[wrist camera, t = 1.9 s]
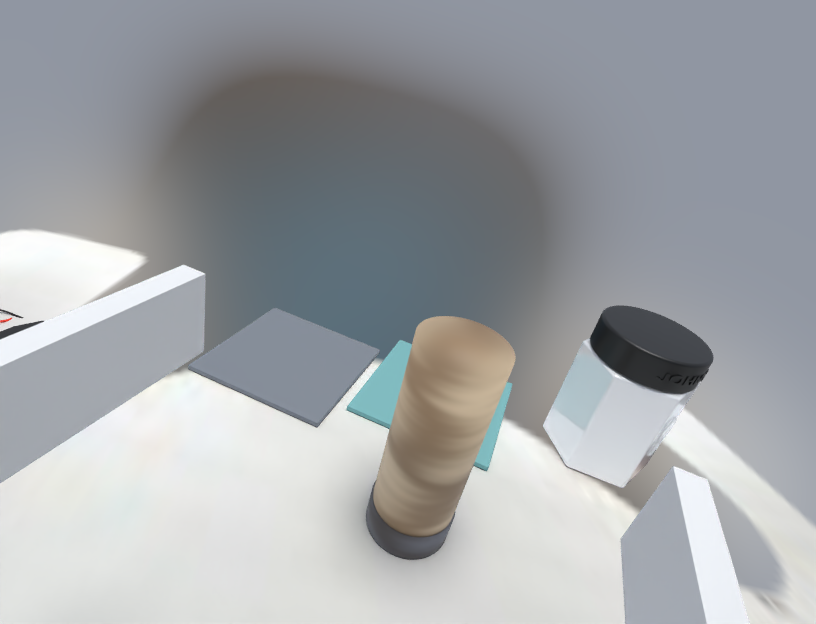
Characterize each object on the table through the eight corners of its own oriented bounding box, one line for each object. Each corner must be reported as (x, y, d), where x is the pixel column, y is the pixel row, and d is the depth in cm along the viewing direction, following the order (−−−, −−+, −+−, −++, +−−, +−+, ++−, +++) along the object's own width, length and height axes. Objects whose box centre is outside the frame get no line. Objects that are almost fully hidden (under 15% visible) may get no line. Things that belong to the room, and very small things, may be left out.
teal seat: (511, 387, 46) (512, 383, 46) (486, 471, 36) (488, 467, 35) (399, 343, 48) (400, 339, 48) (346, 409, 38) (347, 406, 38)
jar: (611, 504, 35) (691, 380, 30) (526, 434, 40) (580, 316, 34) (657, 458, 41) (731, 347, 36) (578, 402, 46) (632, 296, 40)
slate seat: (379, 353, 46) (379, 349, 46) (317, 427, 36) (317, 423, 36) (274, 311, 48) (274, 307, 48) (188, 369, 38) (188, 364, 38)
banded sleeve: (456, 506, 32) (524, 338, 25) (433, 575, 28) (508, 392, 21) (385, 473, 33) (432, 304, 27) (351, 534, 29) (397, 348, 22)
